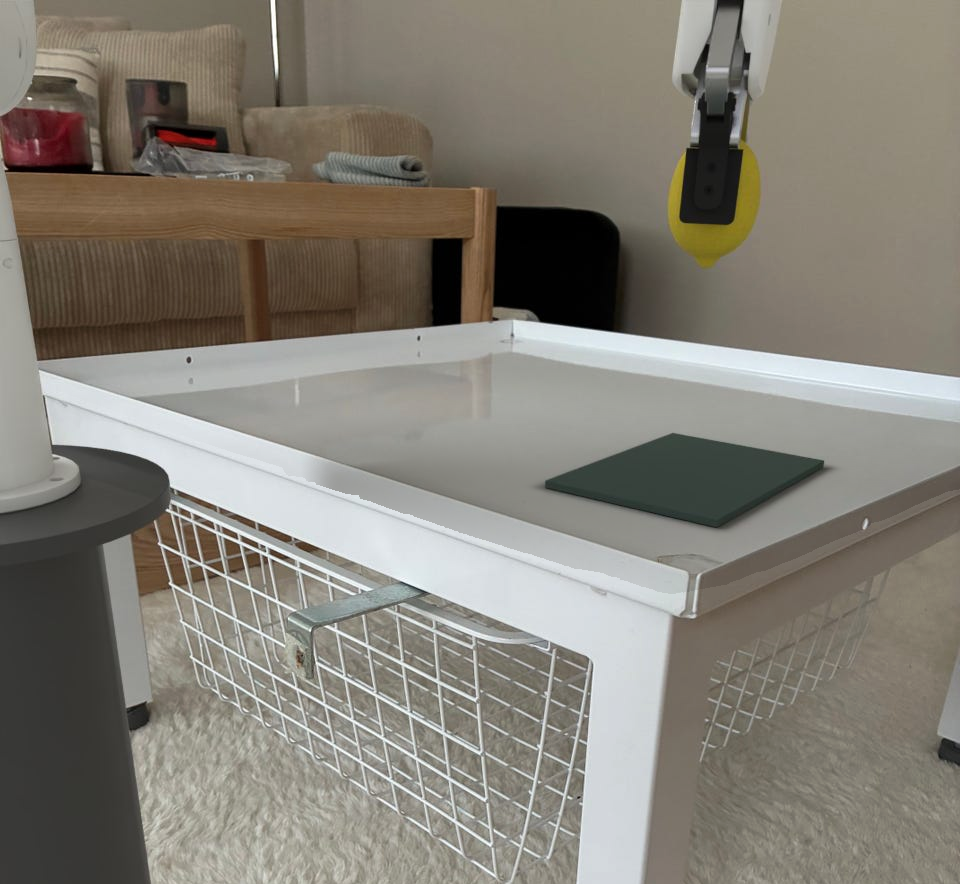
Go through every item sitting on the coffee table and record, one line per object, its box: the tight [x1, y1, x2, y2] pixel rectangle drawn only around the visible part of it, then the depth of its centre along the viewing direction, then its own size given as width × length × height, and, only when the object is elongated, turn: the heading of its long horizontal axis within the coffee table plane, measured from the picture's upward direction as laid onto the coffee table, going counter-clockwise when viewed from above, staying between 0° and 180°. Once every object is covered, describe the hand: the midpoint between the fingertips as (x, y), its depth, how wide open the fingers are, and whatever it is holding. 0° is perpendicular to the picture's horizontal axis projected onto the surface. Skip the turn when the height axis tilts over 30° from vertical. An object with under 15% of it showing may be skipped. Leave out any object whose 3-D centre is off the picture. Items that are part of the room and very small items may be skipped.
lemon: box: [667, 139, 762, 270], centre depth 60 cm, size 6×6×8 cm
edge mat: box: [544, 432, 825, 528], centre depth 67 cm, size 18×12×1 cm, turn 143°
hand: (710, 219), depth 61 cm, fingers closed on lemon, 5 cm apart
